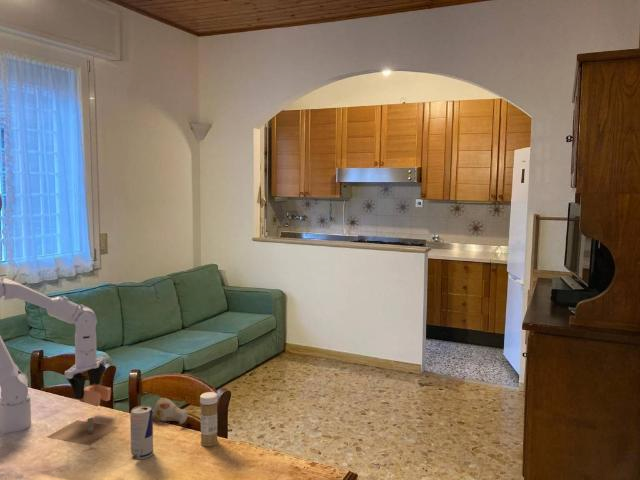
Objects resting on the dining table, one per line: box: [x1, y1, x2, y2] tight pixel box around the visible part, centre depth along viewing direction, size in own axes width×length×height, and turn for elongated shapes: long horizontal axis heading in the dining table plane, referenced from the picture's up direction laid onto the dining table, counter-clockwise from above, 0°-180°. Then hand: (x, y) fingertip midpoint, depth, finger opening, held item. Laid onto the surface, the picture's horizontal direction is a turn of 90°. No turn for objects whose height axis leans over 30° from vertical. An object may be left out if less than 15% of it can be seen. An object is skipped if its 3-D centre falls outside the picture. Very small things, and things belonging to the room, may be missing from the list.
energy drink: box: [129, 405, 154, 461], centre depth 129 cm, size 5×5×12 cm
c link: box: [79, 383, 112, 407], centre depth 149 cm, size 6×5×4 cm
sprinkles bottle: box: [199, 391, 219, 447], centre depth 136 cm, size 5×5×14 cm
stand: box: [46, 417, 119, 446], centre depth 138 cm, size 14×11×6 cm
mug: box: [152, 397, 189, 425], centre depth 149 cm, size 8×10×10 cm
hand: (86, 394), depth 150 cm, fingers closed on c link, 5 cm apart
